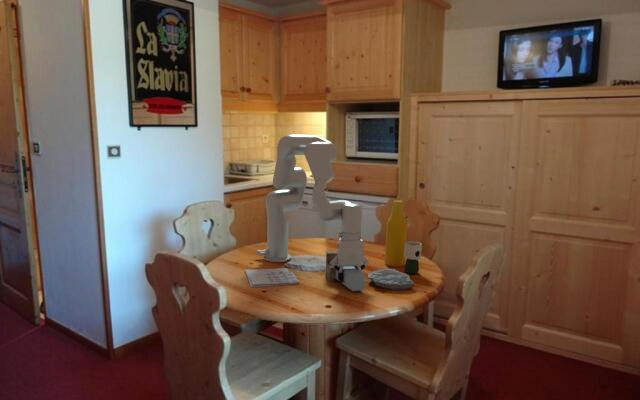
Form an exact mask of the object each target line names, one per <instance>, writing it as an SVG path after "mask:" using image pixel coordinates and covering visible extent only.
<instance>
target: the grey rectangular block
mask: <svg viewBox="0 0 640 400" xmlns="http://www.w3.org/2000/svg"><path fill="white" fill-rule="evenodd" d="M335 264H336V265H337V266H339V265H338V263H337V261H336V262H335ZM342 273H343V282H342V283H341V284H343V285H344V286H345V287H346V288H348V289H349V290H350V291H352V292H357V291H365V289H366V288H365V287H366V273H364V272H363V271H362V272H361V271H359V270H358V269H356V268H355V267H353V266H346V267H343V270H342ZM335 280H337V281H338V282H340V281H339V280H338V271H337V270H336V269H335Z"/></svg>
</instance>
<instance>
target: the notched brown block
mask: <svg viewBox="0 0 640 400" xmlns="http://www.w3.org/2000/svg"><path fill="white" fill-rule="evenodd" d="M325 253H326V255H325V277H326V278H327V280H328V282H329V283H334V282H335V280H336V278H335V268H334V267H333V266H332V265H331V264H330V262H331V261H332V260H333V259H334V258H335V257H336V255H337V251H326V252H325ZM353 267H355V268H356V266H353ZM356 269H357V268H356Z"/></svg>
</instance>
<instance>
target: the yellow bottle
mask: <svg viewBox="0 0 640 400" xmlns="http://www.w3.org/2000/svg"><path fill="white" fill-rule="evenodd" d="M392 202H393V203H392V209H391V214H390V216H389V218H388V220H387V222H386V229H385V230H386V233H385V251H384V264H385V265H386V266H388V267H393V268H400V267H405V263H406V258H405V257H404V249H405V242H407V238H408V237H407V236H408V223H407V220H406V218H405V214H404V213H405V212H404V211H405V210H404V201H403V200H398V199H396V200H393V201H392Z"/></svg>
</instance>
